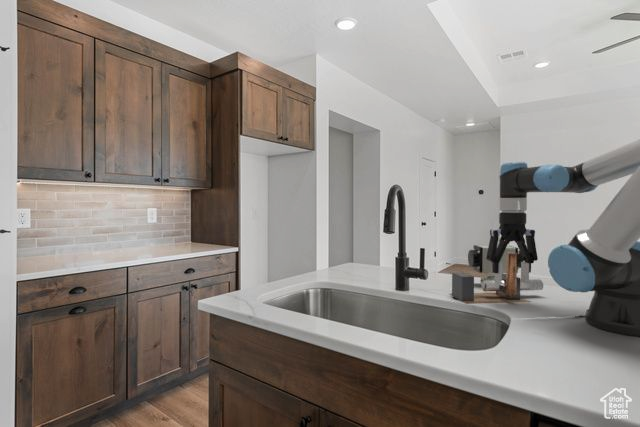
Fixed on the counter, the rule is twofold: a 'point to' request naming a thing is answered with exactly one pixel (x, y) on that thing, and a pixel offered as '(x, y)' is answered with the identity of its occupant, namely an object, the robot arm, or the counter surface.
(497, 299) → the board
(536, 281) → the slip tube
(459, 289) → the dark grey block
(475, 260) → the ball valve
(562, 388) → the counter surface
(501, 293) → the clamp
